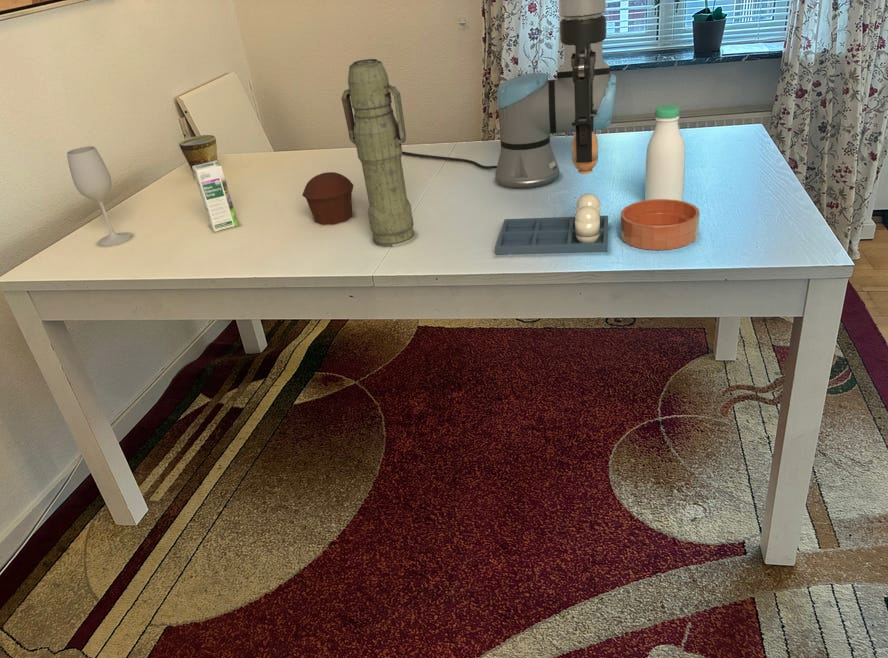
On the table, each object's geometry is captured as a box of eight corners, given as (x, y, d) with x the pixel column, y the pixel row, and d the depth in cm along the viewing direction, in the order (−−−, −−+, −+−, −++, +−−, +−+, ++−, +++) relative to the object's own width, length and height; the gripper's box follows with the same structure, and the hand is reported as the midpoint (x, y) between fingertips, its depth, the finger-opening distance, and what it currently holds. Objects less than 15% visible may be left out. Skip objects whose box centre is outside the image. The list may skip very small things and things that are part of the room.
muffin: (340, 205, 175) (332, 163, 170) (368, 213, 168) (361, 171, 163) (298, 221, 169) (289, 179, 163) (326, 231, 162) (317, 187, 156)
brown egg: (568, 171, 135) (566, 130, 131) (589, 165, 136) (588, 125, 133) (581, 177, 131) (580, 135, 128) (603, 171, 133) (602, 130, 129)
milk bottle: (683, 211, 150) (689, 111, 139) (644, 212, 152) (647, 113, 141) (681, 198, 156) (687, 101, 146) (644, 199, 158) (647, 103, 147)
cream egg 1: (572, 230, 147) (571, 193, 143) (592, 224, 148) (591, 188, 144) (585, 237, 143) (584, 200, 139) (605, 231, 144) (605, 194, 140)
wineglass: (110, 248, 167) (75, 156, 156) (91, 243, 171) (55, 154, 160) (138, 235, 172) (106, 146, 161) (118, 231, 176) (86, 144, 165)
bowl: (606, 235, 144) (606, 210, 141) (665, 217, 148) (666, 193, 145) (651, 259, 132) (652, 233, 130) (713, 239, 137) (715, 213, 134)
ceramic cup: (232, 170, 210) (222, 135, 205) (205, 182, 204) (194, 146, 198) (202, 167, 217) (192, 133, 212) (175, 178, 210) (164, 143, 205)
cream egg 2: (570, 243, 141) (569, 206, 137) (591, 237, 142) (590, 200, 139) (584, 251, 137) (583, 213, 133) (604, 245, 139) (604, 207, 135)
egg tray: (505, 228, 152) (504, 219, 151) (608, 224, 148) (608, 215, 147) (496, 256, 140) (495, 247, 139) (607, 253, 136) (607, 243, 135)
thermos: (374, 230, 159) (343, 59, 141) (426, 229, 156) (402, 54, 138) (360, 246, 152) (326, 68, 134) (414, 246, 149) (387, 64, 131)
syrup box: (214, 232, 168) (195, 170, 161) (209, 225, 173) (191, 164, 165) (239, 226, 170) (221, 164, 163) (233, 219, 175) (216, 158, 167)
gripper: (603, 22, 112) (604, 171, 125) (607, 6, 127) (608, 142, 139) (554, 26, 114) (560, 173, 126) (564, 10, 128) (568, 144, 141)
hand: (585, 156), depth 133 cm, fingers closed on brown egg, 4 cm apart
